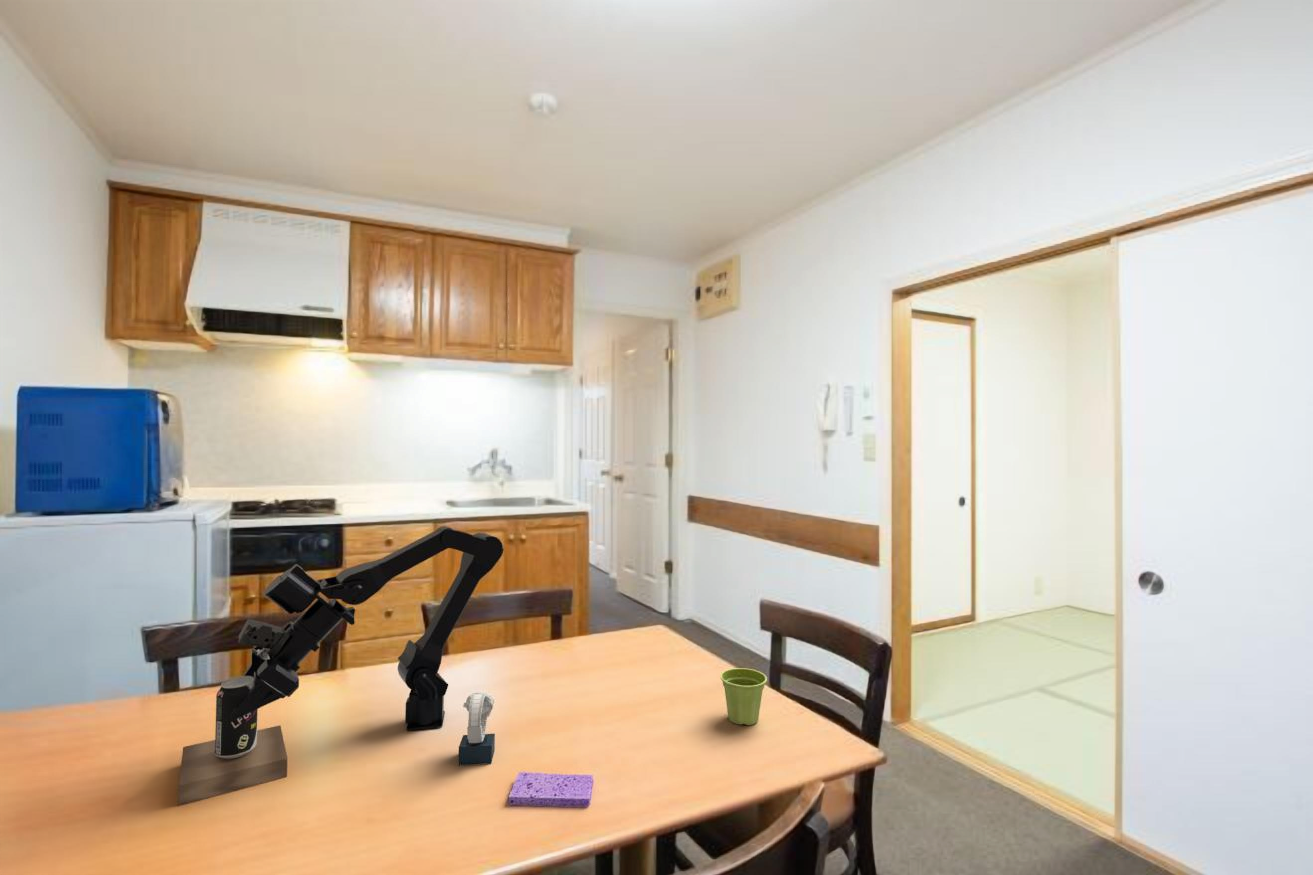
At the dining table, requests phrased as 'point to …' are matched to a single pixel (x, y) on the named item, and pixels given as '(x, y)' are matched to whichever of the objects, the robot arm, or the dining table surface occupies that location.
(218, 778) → the walnut block
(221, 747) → the beverage can
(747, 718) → the plant pot
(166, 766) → the dining table surface
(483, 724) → the watch
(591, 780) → the sponges
